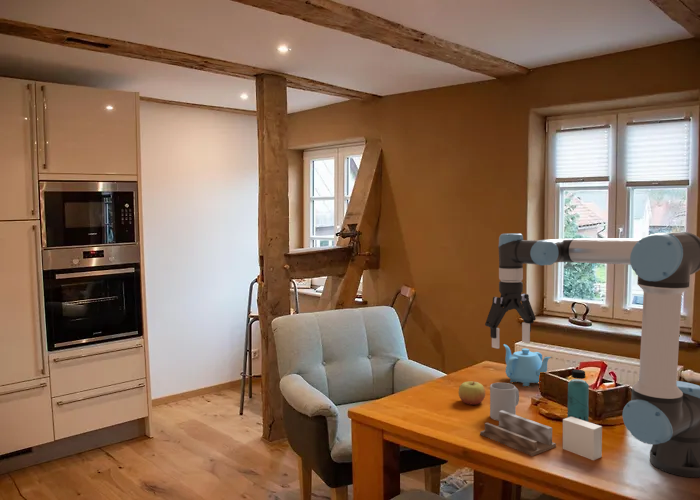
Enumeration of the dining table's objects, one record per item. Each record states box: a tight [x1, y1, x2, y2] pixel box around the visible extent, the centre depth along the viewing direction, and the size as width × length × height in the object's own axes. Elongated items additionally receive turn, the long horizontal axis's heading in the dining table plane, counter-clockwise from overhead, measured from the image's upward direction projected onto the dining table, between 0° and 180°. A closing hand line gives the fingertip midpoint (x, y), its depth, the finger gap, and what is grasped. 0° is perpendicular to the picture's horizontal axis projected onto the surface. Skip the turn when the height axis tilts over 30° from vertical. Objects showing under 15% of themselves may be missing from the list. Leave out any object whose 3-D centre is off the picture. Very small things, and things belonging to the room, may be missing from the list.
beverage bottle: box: [566, 369, 590, 422], centre depth 181 cm, size 6×7×20 cm
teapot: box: [503, 343, 552, 387], centre depth 235 cm, size 16×20×14 cm
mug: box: [489, 382, 520, 422], centre depth 197 cm, size 12×8×11 cm
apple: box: [458, 380, 486, 406], centre depth 211 cm, size 10×10×8 cm
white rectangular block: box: [562, 416, 603, 461], centre depth 166 cm, size 10×4×9 cm, turn 34°
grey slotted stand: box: [479, 410, 557, 457], centre depth 176 cm, size 20×11×6 cm, turn 34°
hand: (511, 345), depth 187 cm, fingers open, 13 cm apart
